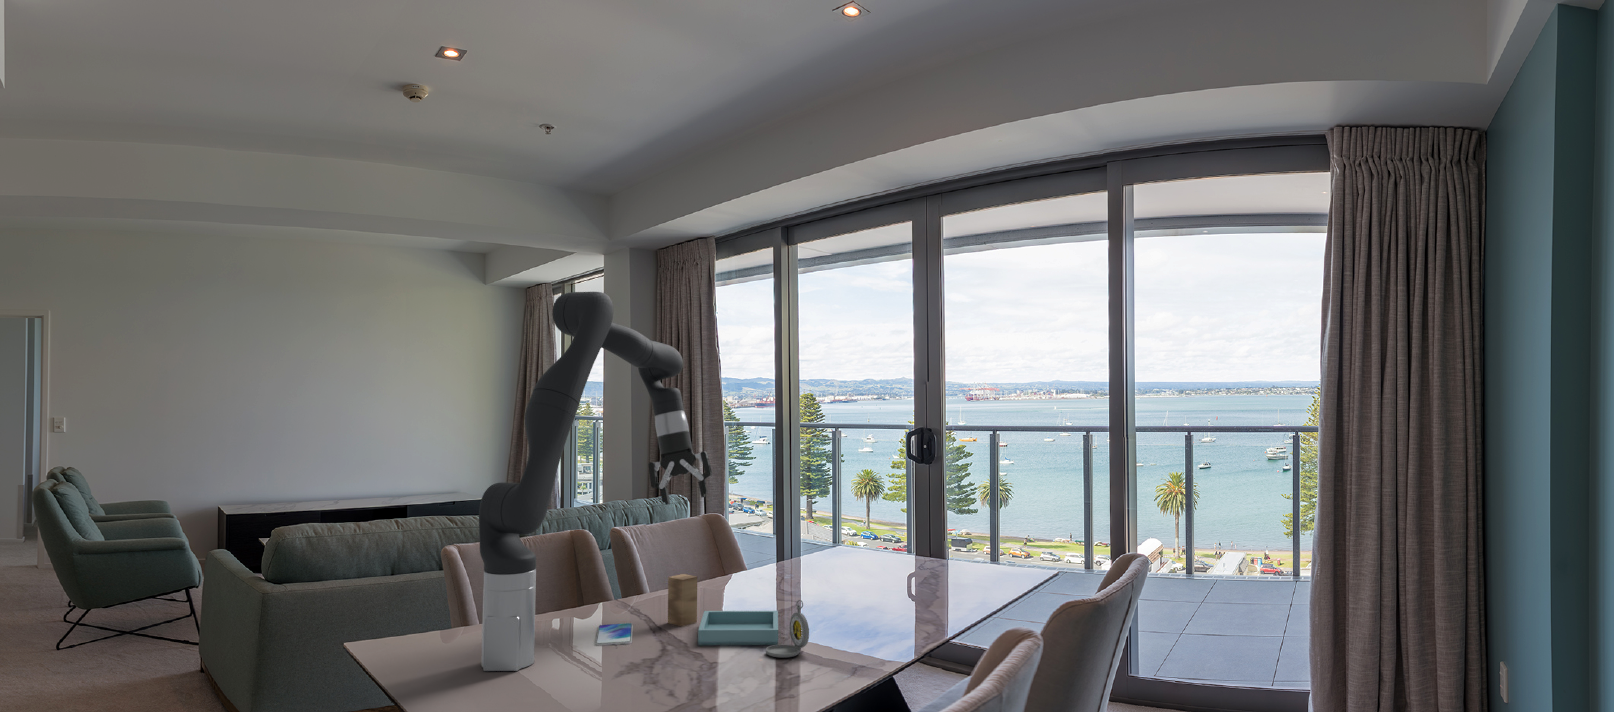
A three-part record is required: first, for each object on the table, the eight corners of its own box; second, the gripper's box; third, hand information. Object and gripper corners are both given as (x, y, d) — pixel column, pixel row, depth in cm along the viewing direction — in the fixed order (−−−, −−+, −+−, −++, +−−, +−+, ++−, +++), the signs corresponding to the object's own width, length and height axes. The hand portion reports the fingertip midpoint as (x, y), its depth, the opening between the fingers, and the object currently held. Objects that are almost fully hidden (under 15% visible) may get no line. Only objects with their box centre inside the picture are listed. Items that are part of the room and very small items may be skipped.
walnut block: (667, 622, 193) (668, 577, 193) (682, 619, 196) (683, 573, 197) (681, 626, 190) (682, 579, 190) (696, 622, 193) (697, 576, 194)
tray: (778, 644, 176) (778, 629, 176) (698, 645, 175) (698, 630, 175) (777, 624, 192) (777, 610, 192) (704, 624, 191) (704, 610, 191)
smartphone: (595, 643, 175) (598, 624, 189) (595, 648, 175) (598, 628, 189) (632, 641, 176) (632, 622, 191) (632, 645, 176) (632, 626, 191)
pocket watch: (759, 656, 168) (759, 603, 169) (780, 645, 176) (781, 595, 176) (796, 662, 164) (797, 608, 165) (817, 651, 172) (817, 599, 172)
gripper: (639, 438, 203) (652, 507, 201) (699, 425, 203) (713, 495, 201) (647, 439, 211) (659, 506, 209) (705, 426, 210) (717, 494, 208)
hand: (685, 500), depth 205 cm, fingers open, 8 cm apart
